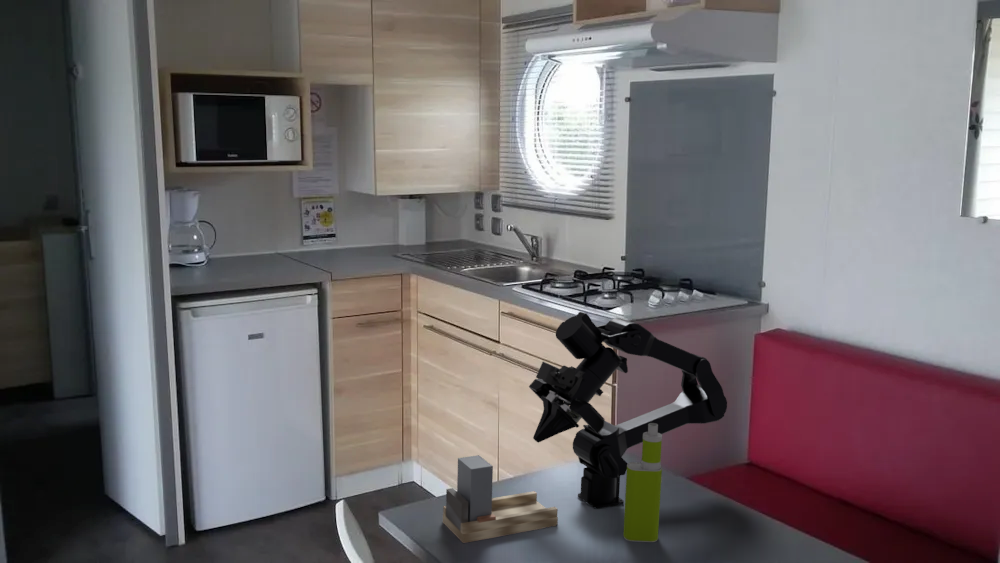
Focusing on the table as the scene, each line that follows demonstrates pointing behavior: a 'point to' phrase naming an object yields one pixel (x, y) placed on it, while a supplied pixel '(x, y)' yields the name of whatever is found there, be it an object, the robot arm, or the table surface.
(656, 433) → the vape
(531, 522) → the sleeve track
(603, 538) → the table surface
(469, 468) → the grey rectangular box
